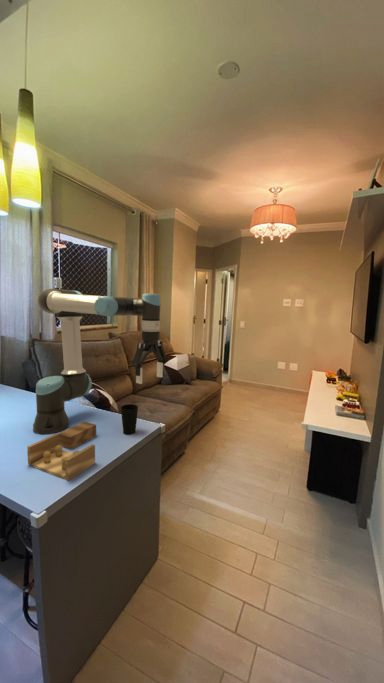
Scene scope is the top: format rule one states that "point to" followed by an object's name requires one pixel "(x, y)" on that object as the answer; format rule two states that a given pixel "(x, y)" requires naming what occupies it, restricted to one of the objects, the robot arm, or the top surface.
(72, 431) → the brown wooden block
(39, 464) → the stand
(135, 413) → the cup
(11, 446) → the top surface
